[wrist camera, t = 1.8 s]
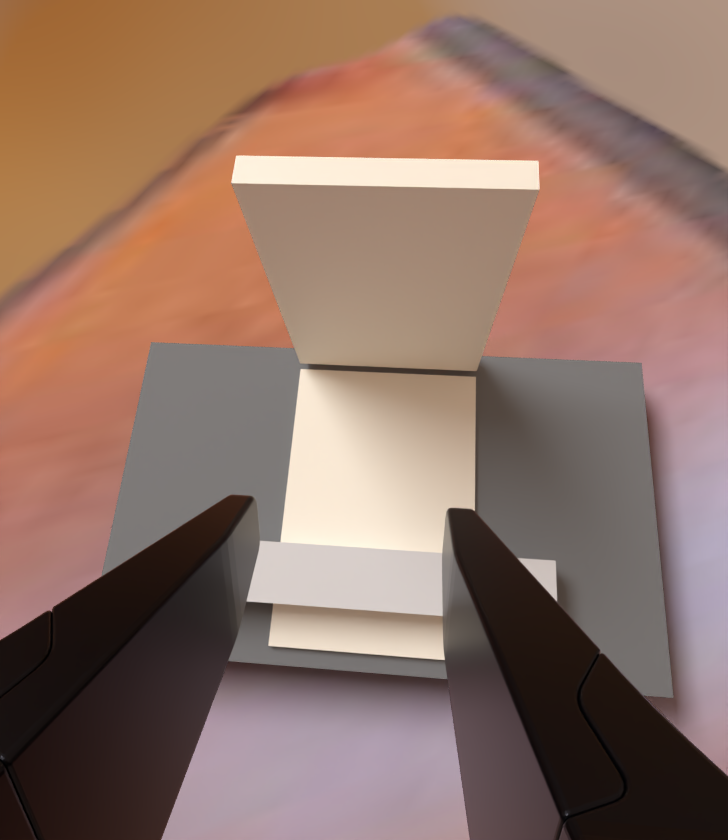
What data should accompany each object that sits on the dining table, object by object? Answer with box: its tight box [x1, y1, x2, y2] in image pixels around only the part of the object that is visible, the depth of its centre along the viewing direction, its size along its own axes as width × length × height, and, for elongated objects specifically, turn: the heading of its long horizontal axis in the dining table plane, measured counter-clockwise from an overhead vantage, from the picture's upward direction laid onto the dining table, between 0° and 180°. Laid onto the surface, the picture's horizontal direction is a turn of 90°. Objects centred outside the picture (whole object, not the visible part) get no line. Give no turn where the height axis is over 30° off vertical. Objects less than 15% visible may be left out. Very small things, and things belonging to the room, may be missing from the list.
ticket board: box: [102, 342, 673, 698], centre depth 21 cm, size 12×20×3 cm, turn 86°
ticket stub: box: [231, 156, 539, 371], centre depth 18 cm, size 1×7×10 cm, turn 86°
